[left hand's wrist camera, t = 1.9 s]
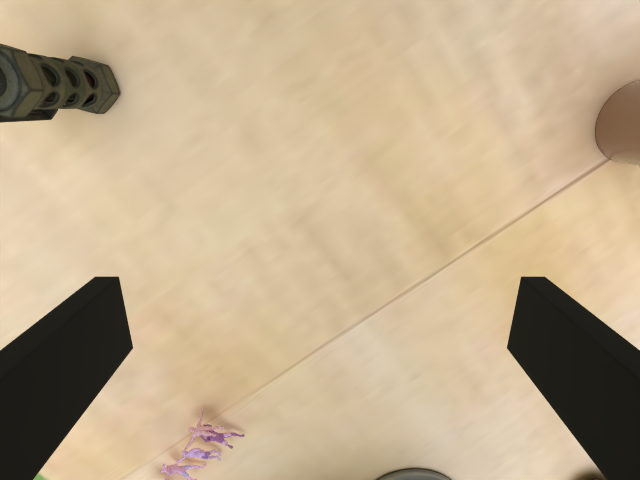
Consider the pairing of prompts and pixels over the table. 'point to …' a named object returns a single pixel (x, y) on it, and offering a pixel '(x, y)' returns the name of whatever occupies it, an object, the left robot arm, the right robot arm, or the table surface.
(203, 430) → the people figure
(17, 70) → the grenade
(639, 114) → the bottle
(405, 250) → the table surface
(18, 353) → the left robot arm
